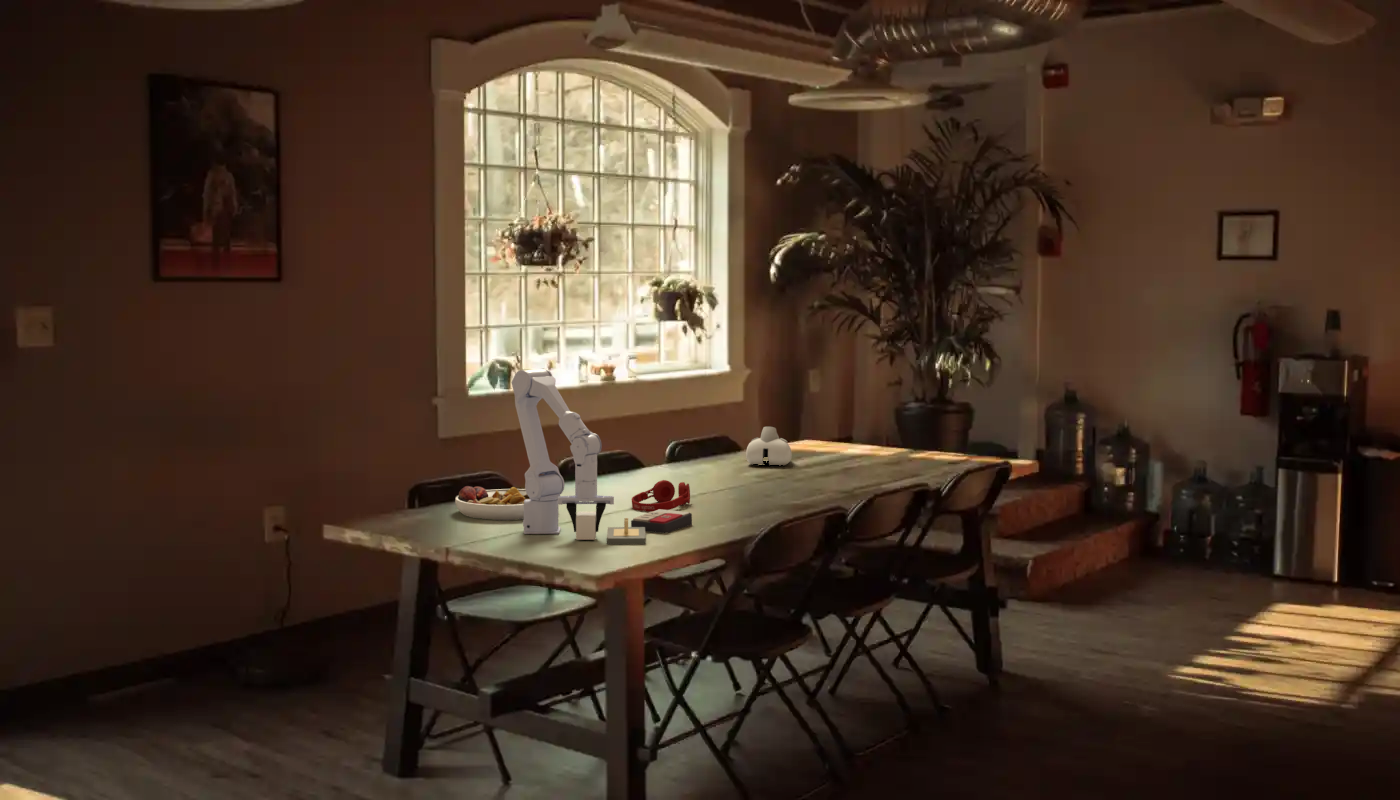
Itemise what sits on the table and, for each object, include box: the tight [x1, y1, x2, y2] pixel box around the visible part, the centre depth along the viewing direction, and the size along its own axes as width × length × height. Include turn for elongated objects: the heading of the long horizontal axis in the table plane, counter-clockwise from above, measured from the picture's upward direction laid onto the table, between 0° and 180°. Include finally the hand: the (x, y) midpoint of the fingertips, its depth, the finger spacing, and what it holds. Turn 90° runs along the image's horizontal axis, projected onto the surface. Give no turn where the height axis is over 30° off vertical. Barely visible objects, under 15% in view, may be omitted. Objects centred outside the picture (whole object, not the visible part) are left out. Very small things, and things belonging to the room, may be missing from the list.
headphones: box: [631, 479, 691, 513], centre depth 410 cm, size 15×7×20 cm
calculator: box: [630, 509, 693, 534], centre depth 376 cm, size 11×4×15 cm
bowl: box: [454, 485, 530, 521], centre depth 399 cm, size 30×30×8 cm
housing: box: [575, 510, 597, 541], centre depth 359 cm, size 5×8×6 cm, turn 3°
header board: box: [606, 517, 646, 545], centre depth 360 cm, size 10×16×5 cm, turn 3°
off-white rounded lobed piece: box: [745, 426, 793, 467], centre depth 505 cm, size 22×23×15 cm
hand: (586, 531), depth 359 cm, fingers closed on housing, 5 cm apart
